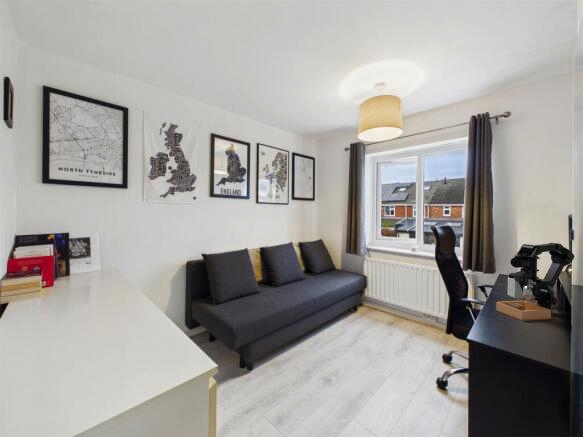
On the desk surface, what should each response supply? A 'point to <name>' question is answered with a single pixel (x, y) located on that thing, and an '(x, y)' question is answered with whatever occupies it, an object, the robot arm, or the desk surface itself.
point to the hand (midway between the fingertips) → (529, 294)
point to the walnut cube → (517, 306)
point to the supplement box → (514, 289)
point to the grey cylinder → (528, 292)
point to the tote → (529, 314)
